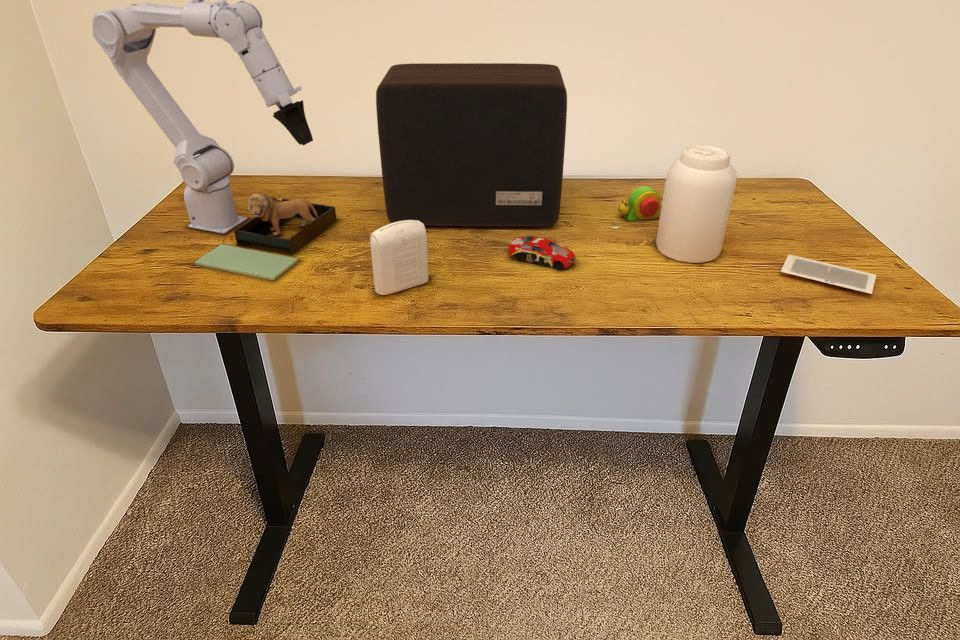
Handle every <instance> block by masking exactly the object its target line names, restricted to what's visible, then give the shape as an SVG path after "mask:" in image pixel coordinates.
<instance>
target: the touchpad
mask: <svg viewBox="0 0 960 640" xmlns="http://www.w3.org/2000/svg"><path fill="white" fill-rule="evenodd" d="M780 273H784V274H789V275H793V276H797V277H801V278H804V279H808V280H814V281H817V282H821V283H826V284H829V285H833V286H838V287H841V288H846V289H850V290H852V291H853V290H854V291H857V292H862V293H866V294H870V295H872V294H873V291H874V288H875V287H874V286H875V283H876V278H877V274H875V273H871V272H867V271H862V270H859V269H853V268H849V267H846V266H842V265H837V264H832V263H827V262H824V261H820V260H815V259H811V258H807V257H803V256H797V255H794V254H788V255H787V257H786V259H785V261H784V264H783V265H782V268H781V270H780Z"/></svg>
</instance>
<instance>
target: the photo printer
mask: <svg viewBox="0 0 960 640" xmlns="http://www.w3.org/2000/svg"><path fill="white" fill-rule="evenodd" d="M427 235H428V234H427V230H426V226H424V224H423V223H421V222H420V221H417V220H404V221H398V222H394V223H391V222H390V223H388V224H385V225H383V226H381V227H379V228H377V229H375V230H374V231H373V232H371V234H370V236H369V245H370V246H369V247H370V253H371V255H370V256H371V257H370V258H371V267H372V276H373V285H374V291H375V293H376V294H377V295H380V296H388V295H391V294H394V293H398V292H402V291H405V290H408V289H411V288H414V287H418V286H422V285H423V284H426V283H428V282H429V260H428V259H429V257H428V237H427Z"/></svg>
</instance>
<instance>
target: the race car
mask: <svg viewBox="0 0 960 640" xmlns="http://www.w3.org/2000/svg"><path fill="white" fill-rule="evenodd" d="M507 253H508V256H510V257H511V258H513V259H516V260H517V261H518V262H522V263H523V262H524V261H525V262H529V263H533V264H538V265H542V266H546V267H552V268H554V269H555V270H556V271H561V270H562V269H567V268H570V267H572V266H574V265H575V263H576V256H575V252H574V251H573V250H571V249H570V248H567V247H565V246H563V245H562V246H561V245H559V244H557V242H556V241H553V240H551V239H549V238H545V237H541V236H531V235H526V236H518V237H515V238H513V239H512V240H511V241H510V243H509V246H508V248H507Z"/></svg>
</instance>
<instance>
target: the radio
mask: <svg viewBox="0 0 960 640" xmlns="http://www.w3.org/2000/svg"><path fill="white" fill-rule="evenodd" d="M567 91H568V90H567V88H566V85H565V82H564V78H563V76H562V72H561V69H560V67H559V66H557V65H556V64H548V63H518V62H517V63H516V62H515V63H514V62H513V63H512V62H511V63H510V62H507V63H505V62H503V63H501V62H500V63H499V62H498V63H497V62H495V63H491V62H489V63H486V62H484V63H483V62H482V63H478V62H477V63H475V62H474V63H472V62H471V63H464V62H463V63H462V62H461V63H457V62H456V63H455V62H454V63H451V62H450V63H442V62H441V63H439V62H438V63H436V62H435V63H433V62H432V63H398V64H393V65H391V66H390V67H389V69H388V70H387V72H386V74H385V75H384V76H383V78H382V80H381V81H380V83H379V85H377V87H376V91H375V107H376V121H377V135H378V145H379V155H380V165H381V166H380V167H381V177H382V187H383V189H382V190H383V195H384V196H383V197H384V205H385V212H386V217H387V220H388V221H389V223H390V224H391V223H394V222H398V221H404V220H417V221H420V222H421V223H423V224H424V226H425V227H429V226H430V227H504V228H505V227H507V228H508V227H509V228H510V227H550V226H554V225H556V224H557V223H558V221H559V218H560V212H561V203H562V192H563V191H562V190H563V179H564V178H563V177H564V164H565V147H566V133H567V116H568V115H567V113H568V92H567Z"/></svg>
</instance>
